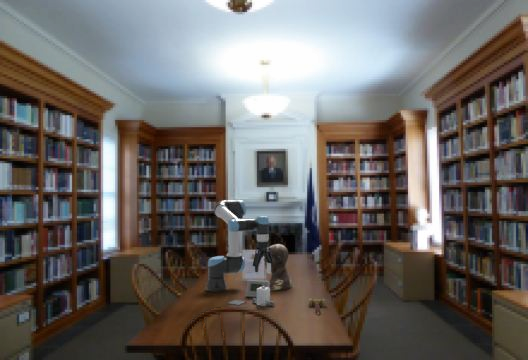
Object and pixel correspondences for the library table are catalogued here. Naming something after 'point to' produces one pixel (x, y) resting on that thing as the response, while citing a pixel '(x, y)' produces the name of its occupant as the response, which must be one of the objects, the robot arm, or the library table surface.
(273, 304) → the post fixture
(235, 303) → the pad
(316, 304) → the gavel
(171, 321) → the library table surface
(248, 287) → the digital clock
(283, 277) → the portrait bust
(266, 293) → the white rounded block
